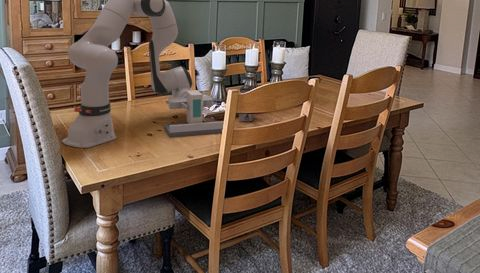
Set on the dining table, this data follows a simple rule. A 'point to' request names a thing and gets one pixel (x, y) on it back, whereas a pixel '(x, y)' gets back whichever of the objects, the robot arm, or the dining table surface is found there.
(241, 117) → the coffee box
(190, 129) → the shelf
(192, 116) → the carton
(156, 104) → the dining table surface
